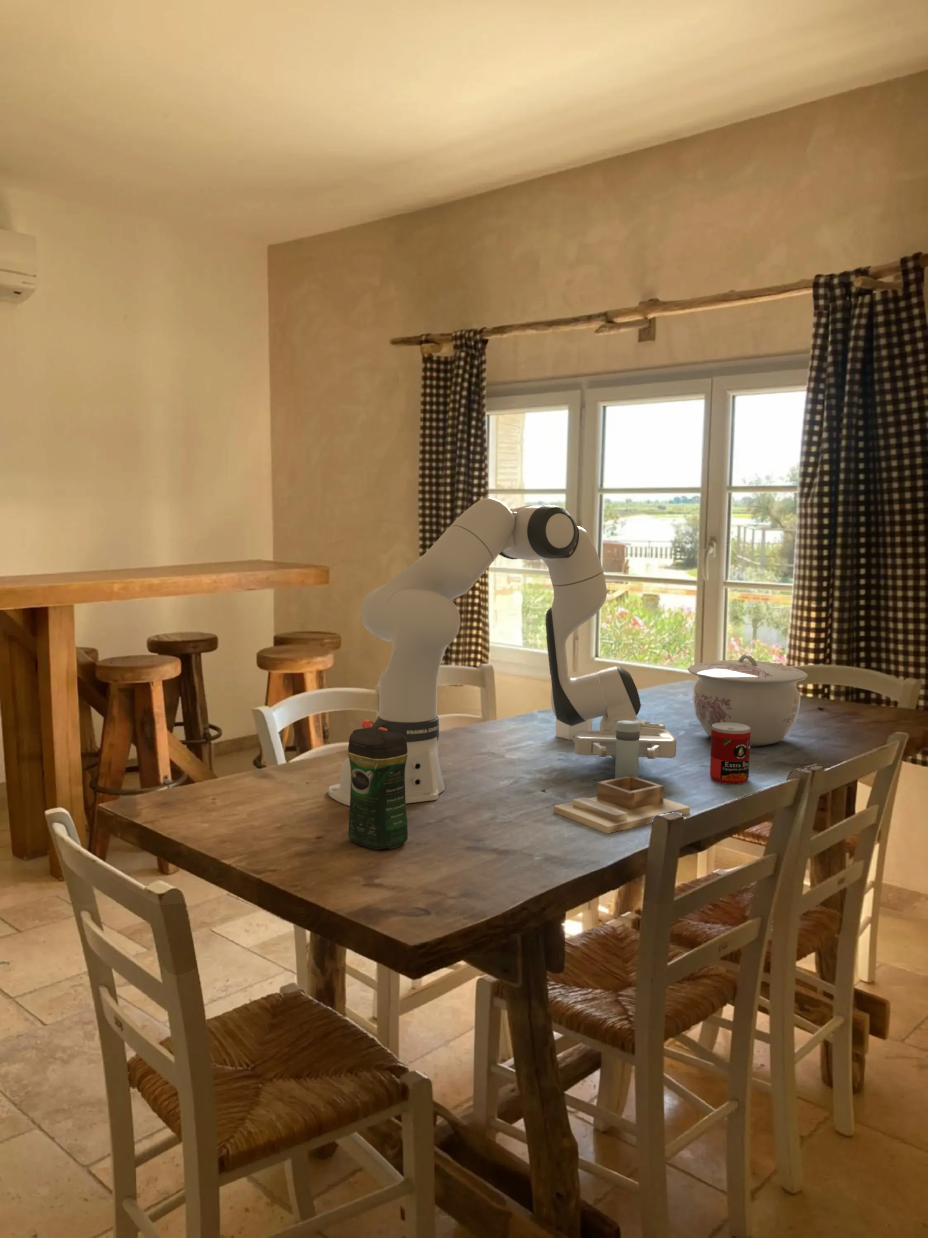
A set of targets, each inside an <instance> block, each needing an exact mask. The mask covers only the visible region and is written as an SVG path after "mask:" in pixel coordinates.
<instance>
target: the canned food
mask: <svg viewBox="0 0 928 1238" xmlns="http://www.w3.org/2000/svg"><path fill="white" fill-rule="evenodd" d="M750 734H751V730H750V727H749V726H747V725H744V724H740V723H731V722H720V723H715V724H713V725H712V728H711V737H710V759H709V761H710V762H709V776H710V780H712V781H714V782H715V783H719V782H720V783H719V784H723V783H726V784H725V785H742V784H745V783H747V782H748V780H749V775H750V774H749V773H750V754H751V753H750V752H751V746H750V737H751V736H750Z"/></svg>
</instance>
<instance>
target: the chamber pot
mask: <svg viewBox="0 0 928 1238" xmlns="http://www.w3.org/2000/svg"><path fill="white" fill-rule="evenodd" d="M745 659H746V660H745ZM687 670H688V672H689V673H690V674H691V675H693V676H694V675H695V676H696V677H697V681H696V683H695V684H694V686H693V687H692V702H693V708H694V709H693V710H694V714H695V716H696V718H697V719H698V721H699V723H700V725H701V728H703V730H704V732H705V734H706V735H707V736H708V737H710V738H711V728H712V725H713V724H715V723H720V722H731V723H740V724H744V725H747V726H749V727H750V730H751V734H750V736H751V737H750V747H764V746H765V747H766V746H768V745H772V744H776V743H779V742H781V741H782V740H783V739H784V738H785V737H786V736H787V735H788V733H789V731H790V730H791V729H792V727H793V725H794V724H795V723H796V722H797V717H798V714H799V710H800V706H801V693H800V691H799V689H798V687H797V685H796V684H797V683H798V682H801V681H804V680H806V679H807V678H808V677H809V674H808V673H806V672H805V671H803V670H801V669H798V668H795V667H792V666H789V665H785V664H781V663H773V662H768V661H759V660H755V658H753V656H752V655H749V654H748V653H745V654H743V655H741V656H740V657H739V658H738V659H729V660H728V659H725V660H724V659H723V660H715V661H714V660H712V661H705V662H699V663H696V664H692V665H691V666H689V667H688V668H687Z"/></svg>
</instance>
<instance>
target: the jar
mask: <svg viewBox="0 0 928 1238" xmlns="http://www.w3.org/2000/svg"><path fill="white" fill-rule="evenodd" d="M592 729H593V719H589V720H586V721H585V722H582V723H579V724H576V725H574V726H570V725H567V724H565V723H563V722H561V721H559V720H558V719H557V718H556V717H555V737H557V738H561V739H564V740H568V741H573V736H576V734H577V733H578V732H579V731H593V730H592Z"/></svg>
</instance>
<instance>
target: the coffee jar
mask: <svg viewBox="0 0 928 1238" xmlns="http://www.w3.org/2000/svg"><path fill="white" fill-rule="evenodd" d="M347 755H348V757H349V761H350V768H351V790H350V806H349V813H348V814H349V815H348V832H347V833H348V838H349V840H350V841H351V842H352V843H355V844H357V845H359V846H362V847H365V848H368V849H373V850H382V849H388V850H389V849H390V850H392V849H395V848H398V847H401V845H403V844H404V843H406V842H407V840H408V836H409V835H408V831H409V830H408V814H407V803H406V798H405V765H406V761H407V757H408V750H407V740H406V737H405V736H403V735H402V734H399V733H394V732H389V731H385V730H381V729H377V728H373V727H369V728H363V729H362V728H358V729H353V731H352V732H351V733H350V735H349V739H348V749H347Z"/></svg>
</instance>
